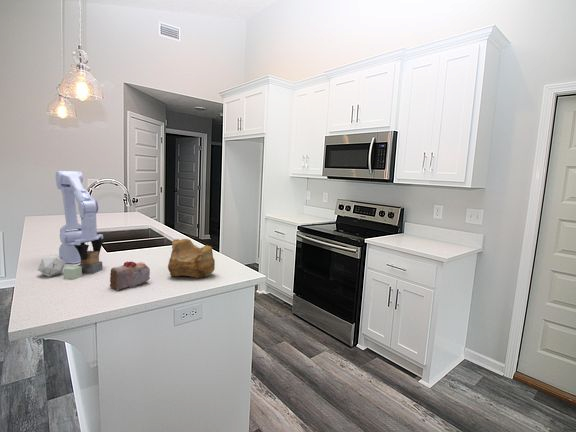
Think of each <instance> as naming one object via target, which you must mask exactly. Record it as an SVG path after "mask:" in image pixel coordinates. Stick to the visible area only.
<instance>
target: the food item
mask: <svg viewBox="0 0 576 432" xmlns="http://www.w3.org/2000/svg"><path fill="white" fill-rule="evenodd" d="M150 275H151V269H150V267H149V266H148V265H147V264H146V263H145V262H143V261H140V262H134V261H124V263H123V265H119V266H115V267H112V268H111V269H110V273H109V282H110V284H109V287H110V288H111V289H113V290H115V291H119V290H124V289H127V288H135V287H137V286H138V285H144V284H146V283H147V282H149V280H150V278H151V277H150Z"/></svg>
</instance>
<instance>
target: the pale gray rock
mask: <svg viewBox="0 0 576 432" xmlns="http://www.w3.org/2000/svg"><path fill="white" fill-rule="evenodd" d="M66 264H67V263H66V262H65V261H63V260H62V259H60V258H59V256H57V255H56V254H54V255H49V256H45V257H42V258H41V260H40V263H39V266H38V268H37V271H39V272H40V273H42V274H44V275H45V276H46V277H47V278H50V277H51V278H52V277H54V276H57V275H61V274H62V273H63V271H64V270H63V268H65V266H66Z"/></svg>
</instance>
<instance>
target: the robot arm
mask: <svg viewBox="0 0 576 432" xmlns="http://www.w3.org/2000/svg"><path fill="white" fill-rule="evenodd" d="M83 175H84V174H83V173H82V171H80V170H57V171H56V173H55V182H56V183H55V184H56V187H57V190H60V191H61V194H62V202H63V203H62V204H63V210H64V211H63V212H64V218H65V224H63V226H62V227H60V228H59V229H60V230H59V239H60V243H61V244H60V245H59V247H58V255H59V256H58V257H59V258H60V259H62V260H63V261H65V262H66V263H65V264H76V265H77V264H79V263H81V260H87V251H89V250H88V249H89V247H90V245H89V244H88V243H91V246H92V251H99V254H100V253H101V249H102V246H103V244H104V242H105V239H104V234H101V233H99V234H98V231H97V230H98V229H97V228H98V227H97V213H98V212H99V203H98V201H97V200H96V199H95V198H92V196H91V195H90V193H89V190H87V189H86V188H85V189H84V186H83V181H84V176H83ZM76 203H77V204H78V206H76ZM77 207H78V208H77ZM77 209H78V212H79V218H80V221H81V223H79V222H78V221H79V220H78V213H77ZM80 257H81V258H80Z"/></svg>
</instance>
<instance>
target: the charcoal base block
mask: <svg viewBox="0 0 576 432" xmlns="http://www.w3.org/2000/svg"><path fill="white" fill-rule="evenodd" d="M78 265H79V266H82V274H89V275H90V274H91V275H94V274H97V273H98V272H101V271H103V261H101V260H99V262H98V263H95V264H93V265H83V264H81V263H80V264H79V263H78Z"/></svg>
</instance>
